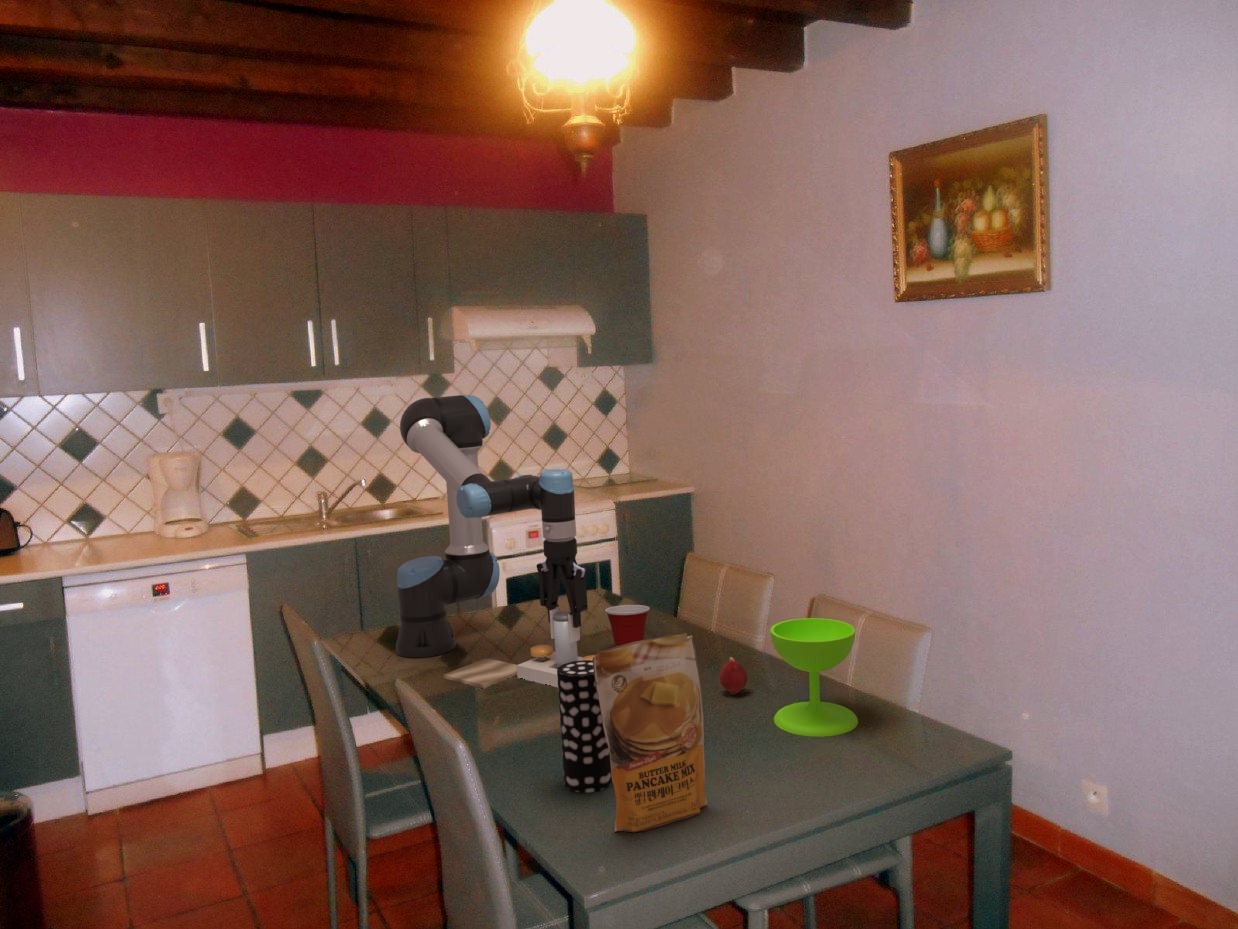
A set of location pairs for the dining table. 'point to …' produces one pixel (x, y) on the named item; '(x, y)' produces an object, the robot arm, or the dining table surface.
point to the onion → (733, 676)
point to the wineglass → (814, 673)
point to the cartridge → (563, 640)
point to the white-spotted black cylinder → (582, 729)
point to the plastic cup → (627, 623)
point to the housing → (540, 670)
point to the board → (483, 673)
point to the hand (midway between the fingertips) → (565, 638)
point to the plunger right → (588, 657)
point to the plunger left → (542, 652)
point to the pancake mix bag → (653, 729)
